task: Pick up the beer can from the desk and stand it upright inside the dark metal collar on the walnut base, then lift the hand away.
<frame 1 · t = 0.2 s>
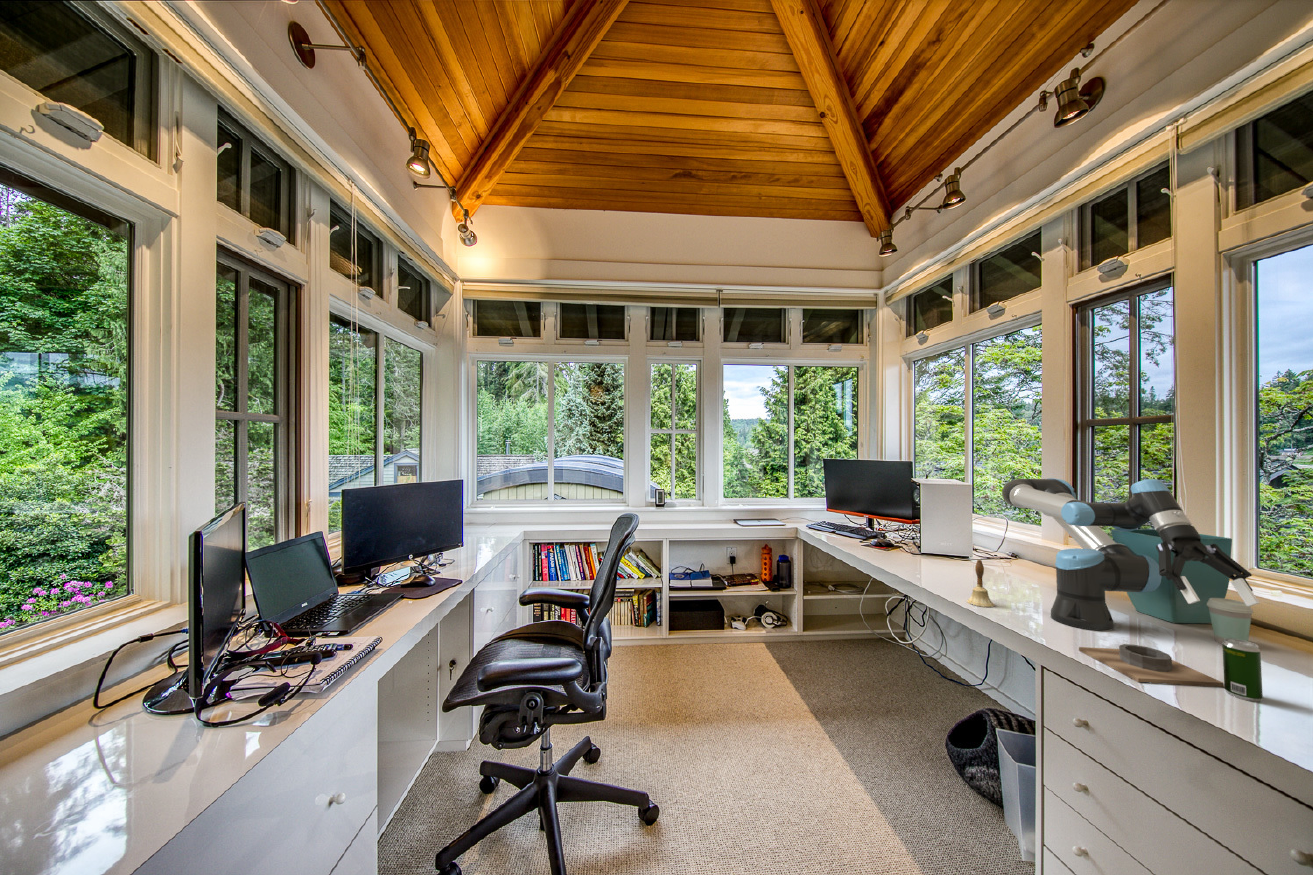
hand: (1223, 603, 119), 16 cm above the table, tool tilted 35°, fingers open, 13 cm apart
coffee cup: (1231, 643, 133), on the table
flower pot: (1171, 617, 154), on the table
hand bell: (980, 604, 168), on the table
collar holder: (1145, 667, 118), on the table
beer can: (1243, 696, 104), on the table
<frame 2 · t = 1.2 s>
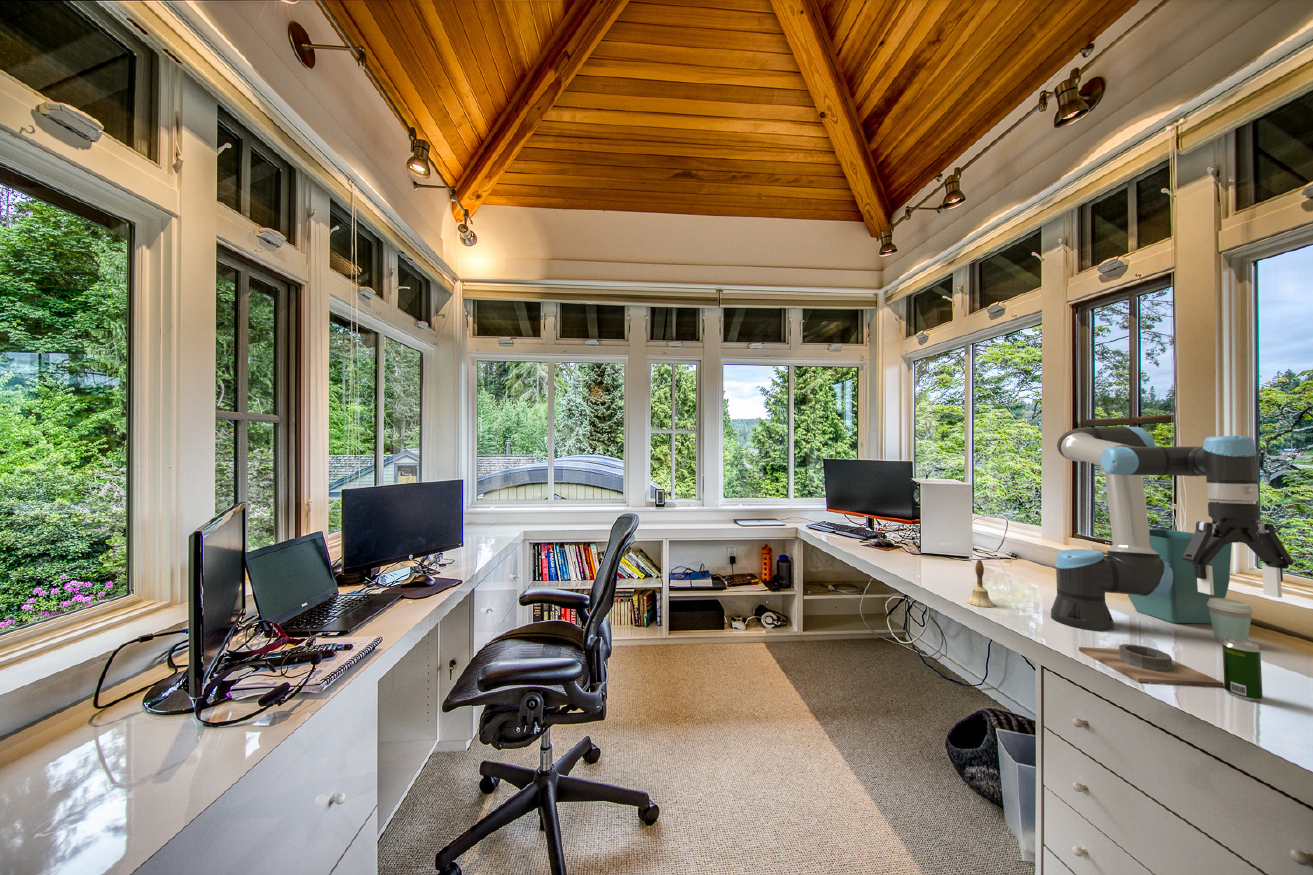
hand: (1239, 594, 105), 23 cm above the table, tool pointing down, fingers open, 13 cm apart
nothing on the table moved.
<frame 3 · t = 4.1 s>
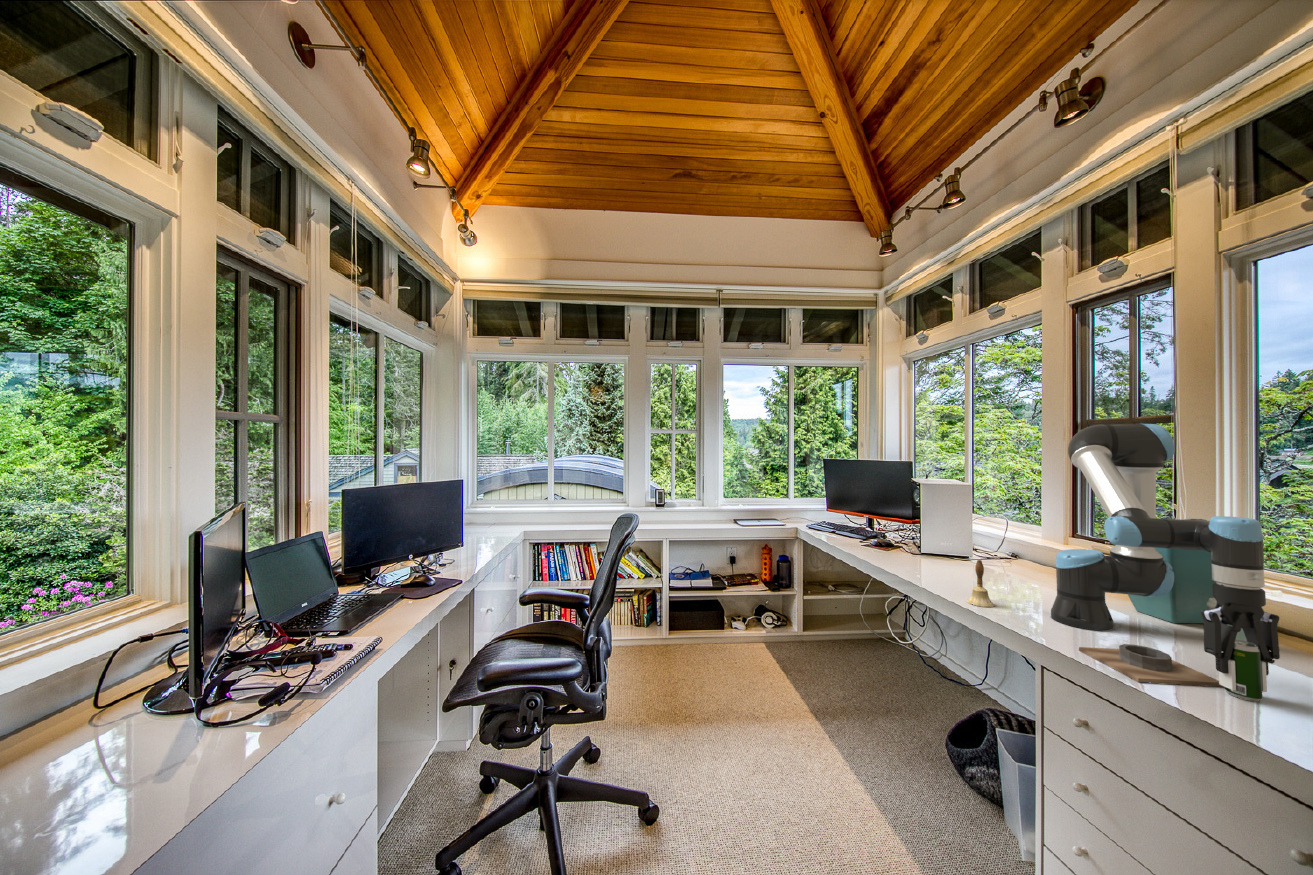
hand: (1242, 687, 104), 2 cm above the table, tool pointing down, fingers closed on beer can, 5 cm apart
beer can: (1243, 696, 104), on the table, touching gripper
everything else where it was.
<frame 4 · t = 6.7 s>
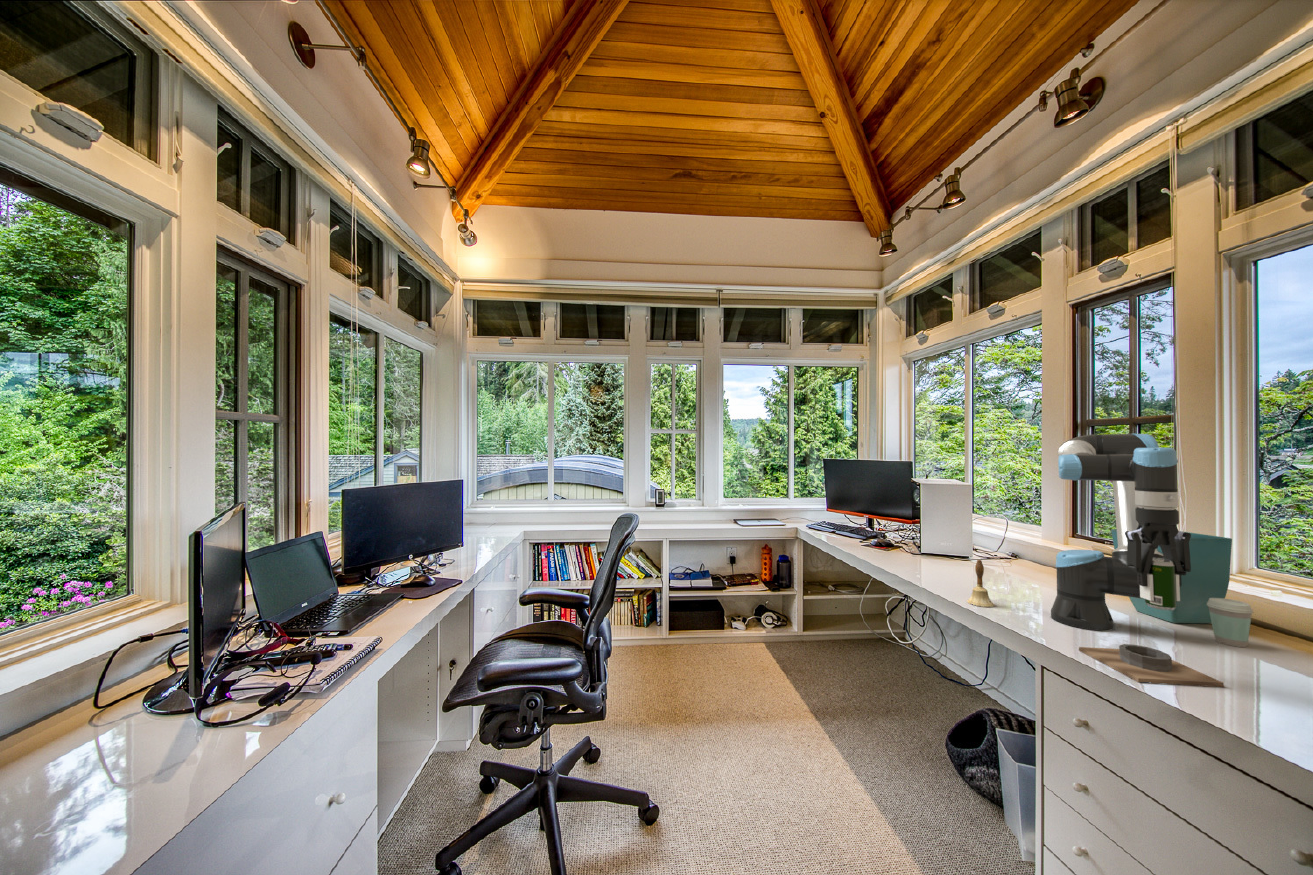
hand: (1159, 598, 116), 18 cm above the table, tool pointing down, fingers closed on beer can, 5 cm apart
beer can: (1160, 607, 116), point 16 cm above the table, touching gripper
everything else where it was.
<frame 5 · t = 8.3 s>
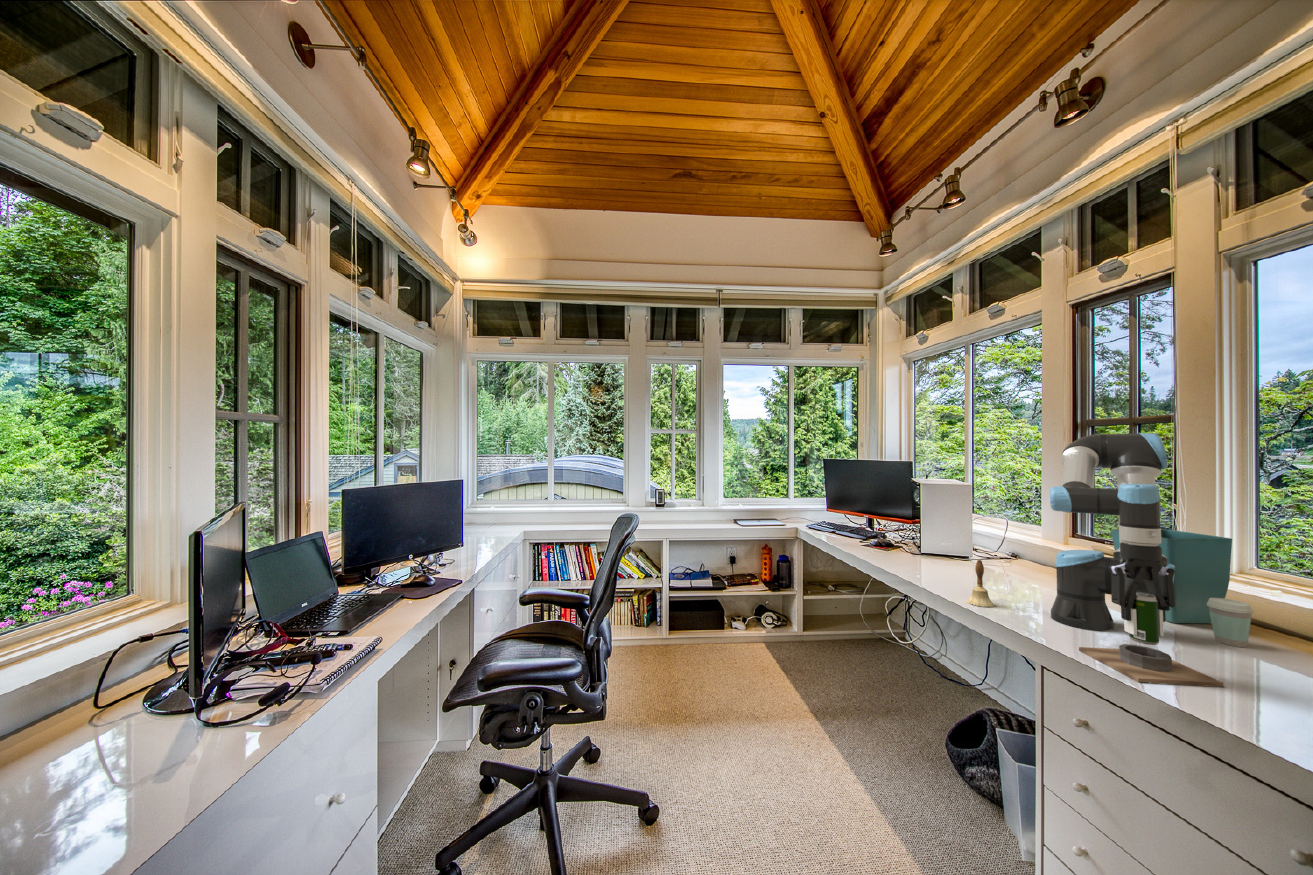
hand: (1143, 633, 118), 9 cm above the table, tool pointing down, fingers closed on beer can, 5 cm apart
beer can: (1144, 642, 118), point 6 cm above the table, touching gripper
everything else where it was.
when the fingers open (5 cm above the table, at t = 9.6 s): beer can drops 2 cm, resting on collar holder.
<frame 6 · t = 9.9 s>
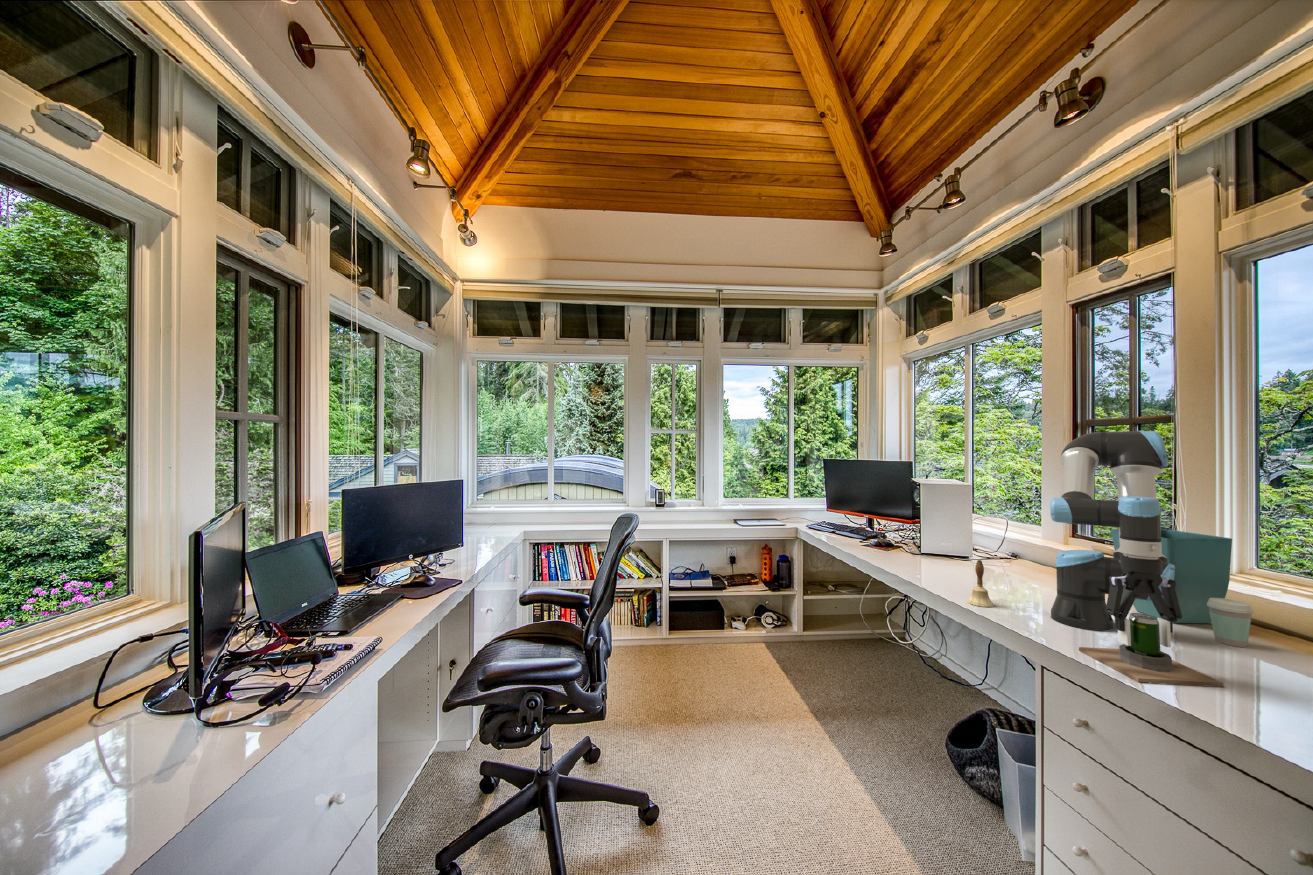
hand: (1144, 644, 118), 6 cm above the table, tool pointing down, fingers open, 8 cm apart
beer can: (1145, 663, 118), point 1 cm above the table, touching collar holder
everything else where it was.
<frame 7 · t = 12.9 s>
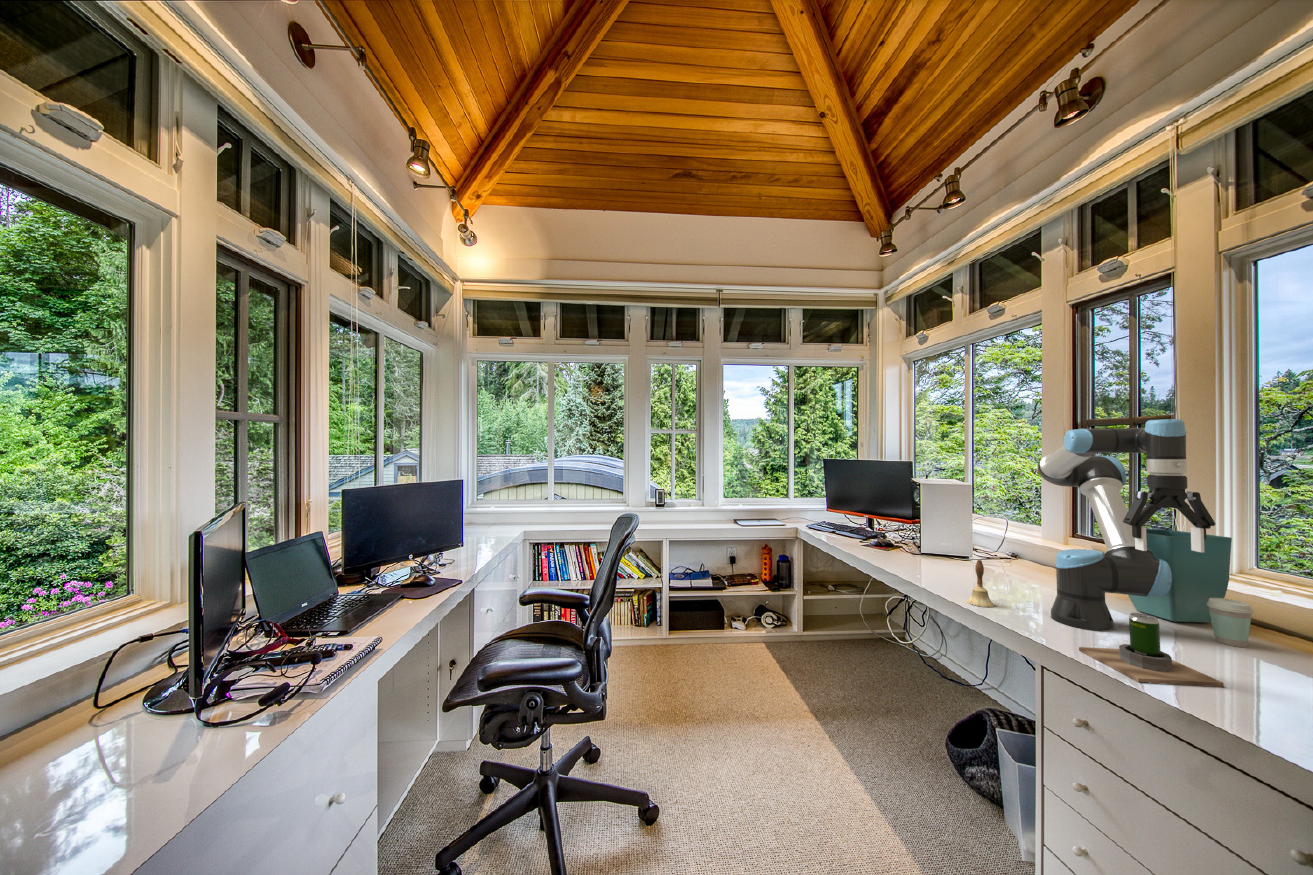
hand: (1169, 550, 127), 28 cm above the table, tool pointing down, fingers open, 13 cm apart
flower pot: (1170, 616, 154), on the table, touching arm
everything else where it was.
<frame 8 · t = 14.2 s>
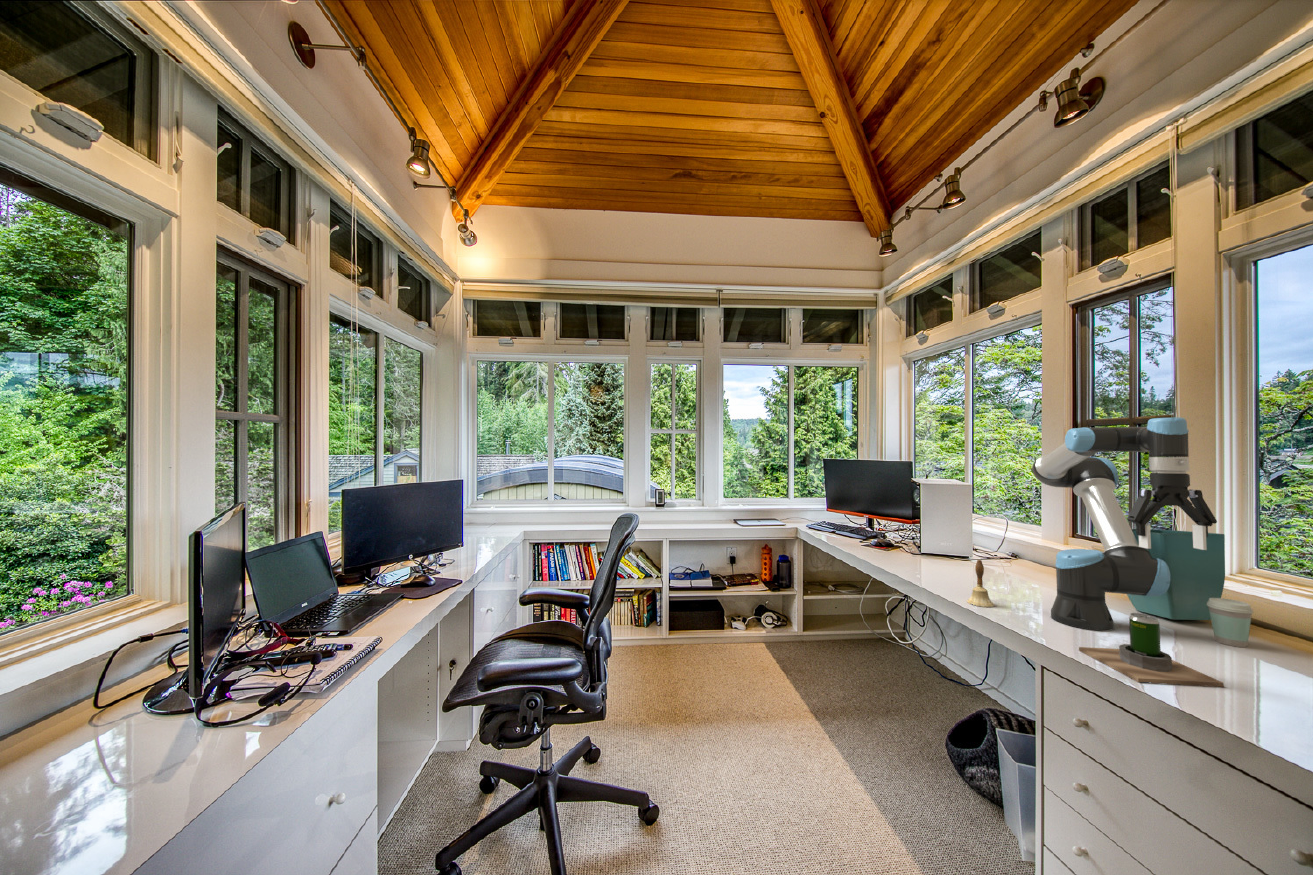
hand: (1172, 548, 128), 29 cm above the table, tool pointing down, fingers open, 13 cm apart
at the end: beer can 0.2 cm off-centre on the collar holder, point 0.8 cm above the collar holder's base; beer can tilted 0°; the gripper is holding nothing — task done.
